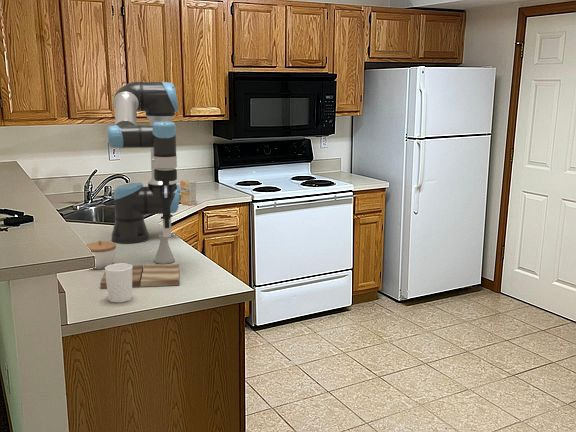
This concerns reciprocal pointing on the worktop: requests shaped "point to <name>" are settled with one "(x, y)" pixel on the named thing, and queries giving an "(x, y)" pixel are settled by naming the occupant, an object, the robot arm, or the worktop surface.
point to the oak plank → (160, 275)
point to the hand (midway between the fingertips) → (167, 236)
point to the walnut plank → (136, 277)
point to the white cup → (119, 282)
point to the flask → (164, 252)
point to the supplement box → (188, 192)
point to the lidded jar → (103, 253)
